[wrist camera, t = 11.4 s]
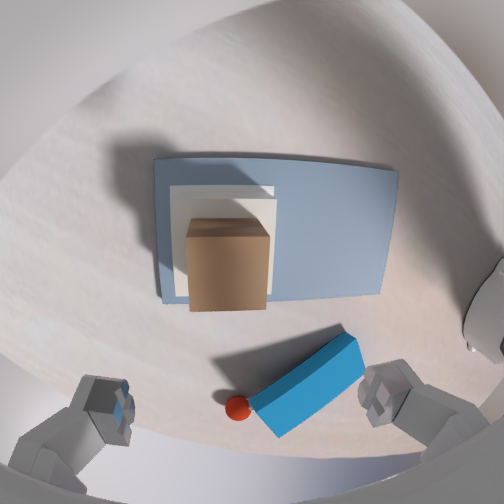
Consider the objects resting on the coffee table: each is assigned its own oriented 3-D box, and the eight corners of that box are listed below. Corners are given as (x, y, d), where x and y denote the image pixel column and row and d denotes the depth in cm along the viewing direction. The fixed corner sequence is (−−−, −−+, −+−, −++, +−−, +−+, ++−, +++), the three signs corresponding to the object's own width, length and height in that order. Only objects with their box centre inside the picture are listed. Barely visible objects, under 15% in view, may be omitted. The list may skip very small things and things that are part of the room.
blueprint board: (394, 171, 27) (399, 171, 26) (376, 290, 32) (380, 294, 31) (155, 159, 24) (154, 159, 23) (163, 300, 28) (162, 304, 28)
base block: (267, 192, 25) (277, 199, 22) (263, 275, 28) (271, 294, 24) (176, 192, 24) (170, 199, 21) (180, 276, 27) (175, 296, 23)
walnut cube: (257, 218, 22) (270, 236, 17) (255, 278, 24) (265, 309, 19) (191, 218, 21) (185, 237, 17) (193, 279, 23) (189, 311, 18)
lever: (323, 316, 38) (210, 393, 33) (356, 338, 31) (228, 429, 27) (335, 349, 40) (235, 419, 36) (366, 371, 34) (254, 453, 30)
